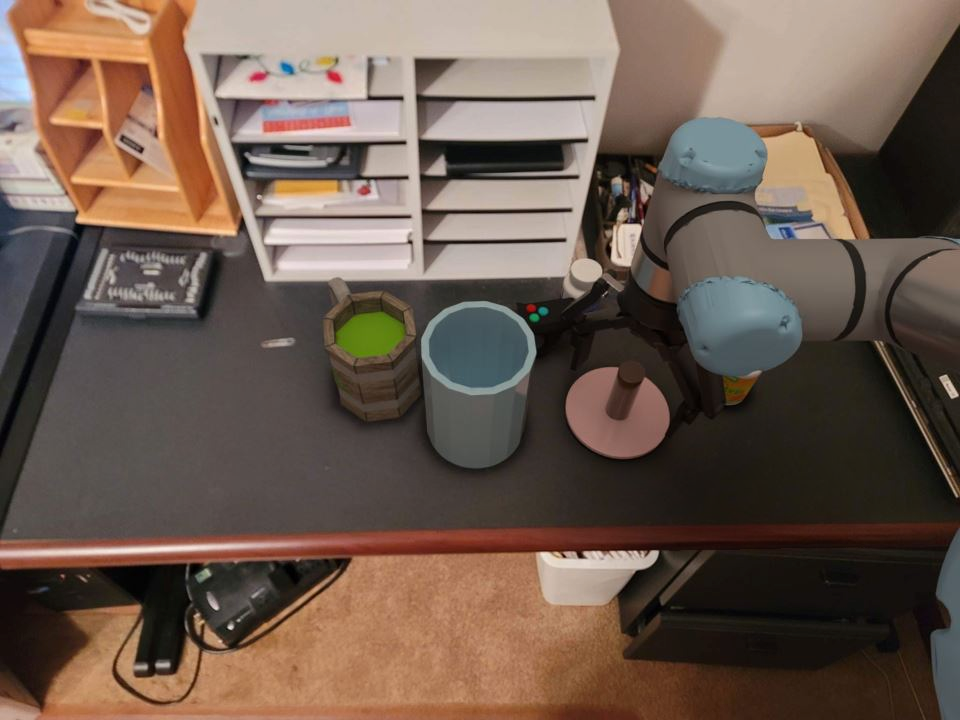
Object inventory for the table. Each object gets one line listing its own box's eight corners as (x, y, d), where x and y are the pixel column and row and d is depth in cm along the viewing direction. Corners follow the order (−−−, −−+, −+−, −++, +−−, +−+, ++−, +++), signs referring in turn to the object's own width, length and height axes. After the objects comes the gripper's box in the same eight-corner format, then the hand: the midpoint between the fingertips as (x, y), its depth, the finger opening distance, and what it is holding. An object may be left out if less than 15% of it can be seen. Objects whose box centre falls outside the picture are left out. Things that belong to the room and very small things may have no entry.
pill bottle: (604, 320, 94) (616, 276, 87) (572, 335, 92) (581, 292, 85) (581, 293, 96) (591, 248, 89) (549, 308, 95) (557, 263, 87)
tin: (542, 421, 85) (558, 342, 71) (480, 487, 80) (484, 416, 66) (471, 368, 89) (473, 283, 75) (407, 428, 84) (397, 349, 70)
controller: (479, 345, 91) (481, 296, 83) (570, 329, 93) (580, 280, 85) (487, 372, 89) (490, 324, 80) (579, 355, 90) (592, 307, 82)
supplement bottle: (699, 399, 87) (724, 355, 79) (706, 365, 90) (730, 319, 82) (743, 411, 86) (772, 368, 78) (748, 377, 89) (777, 332, 81)
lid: (674, 388, 88) (696, 343, 80) (657, 474, 81) (679, 435, 73) (578, 361, 90) (589, 314, 82) (553, 443, 83) (563, 401, 75)
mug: (438, 397, 86) (436, 340, 76) (360, 437, 83) (346, 383, 73) (379, 311, 94) (370, 249, 84) (305, 345, 90) (286, 285, 80)
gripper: (811, 323, 62) (733, 436, 80) (586, 192, 71) (560, 320, 88) (771, 375, 59) (699, 481, 76) (540, 231, 67) (523, 356, 85)
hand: (624, 395), depth 82 cm, fingers open, 13 cm apart
